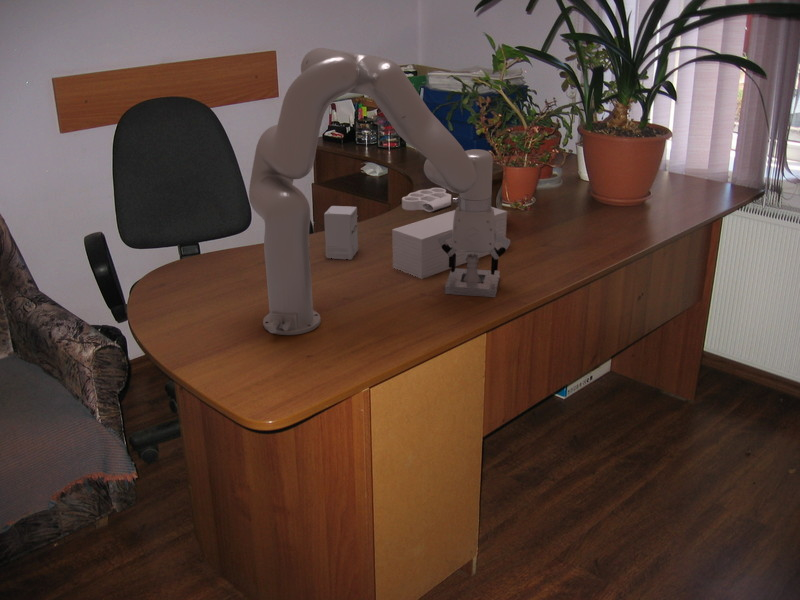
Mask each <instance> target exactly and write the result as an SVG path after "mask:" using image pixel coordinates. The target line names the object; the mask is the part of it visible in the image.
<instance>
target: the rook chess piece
mask: <svg viewBox="0 0 800 600" xmlns="http://www.w3.org/2000/svg"><path fill="white" fill-rule="evenodd" d="M466 261H467V264H466V266H467V267H466V269H467V274H466V276H465V278H464V279H463V282H467V283H482V282H481V280H480V278H479V276H478V271H477V270H478V266H479V264H478V262H479V261H480V258H478V255H476V254H473V255H472V254H470V256H469V254H468V255H467V258H466Z"/></svg>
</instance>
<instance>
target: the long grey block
mask: <svg viewBox="0 0 800 600" xmlns="http://www.w3.org/2000/svg"><path fill="white" fill-rule="evenodd" d="M491 208H493V207H491ZM493 209H494V215H495V226H496V232H497V233H498V234H500V235H502V236H504V237H506V238H507V218H508V211H507V210H505V209H502V210H501V209H497V208H493ZM454 214H455V210H453V211H451V210H450V211H447V212H444V213H441V214H438V215H435V216H431V217H429V218H425V219H422V220H417V221H415V222H412V223H408V224H406V225H405V224H404V225H401V226H399V227H396V228H392V229H391V230H392V231H391V234H392V235H391V236H392V239H391V240H392V242H391V243H392V247H391V248H392V269H394V268H395V269H394V270H397V269H398V270H397V271H399V270H401V271H400V272H402V271H403V272H402V273H404V274H407V273H409V274H408V275H410V274H411V275H410V276H412V275H413V276H412V277H415V276H416V277H415V278H417V277H418V279H420V278H421V279H420V280H423V279H427V278H428V277H432V276H434V275H436V274H440V273H442V272H444V271H448V270H451V268H449V256H448V255H447V253H446V252H445V251H444V250H443V249H442V247H441V245H440V243H439V241H438V237H439V236H440V235H443V234H445V233H447V232H450V231H452V230H453V220H454ZM445 241H446V243H447V244H448V245H449V246H450V247H452V237H451V238H449V239H446V240H445ZM502 246H503V243H501V242H500V241H498V240H496V241H495V247H496V248H497V250H499V249H500V248H501V247H502ZM455 254H456V267H457V266H461V265H464V264H466V263H467V264H468V262H467V261H466V258H467V255H468V254H469V256H470V254H472V255H473V254H476V255H478V258H479V259H481V258H482V257H485V256H488V255H491V254H490V253H479V252H462V251H456V252H455Z"/></svg>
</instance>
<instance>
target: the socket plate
mask: <svg viewBox="0 0 800 600" xmlns="http://www.w3.org/2000/svg"><path fill="white" fill-rule="evenodd" d="M477 271H478V276H479V278H480V280H481V282H480V283H467V282H463V279H464V278H465V276H466V274H467V268H458V267H456V268H455V271H454V272H451V270H450V271H449V275H448V276H447V280H446V282H445V285H444V294H445V295H456V296H468V297H469V296H471V297H484V298H485V297H486V298H496V295H497V291H498V288H499V287H498V286H499V282H500V275H501V273H500V270H495V273H494V275H492V274H491V269H489V270H488V269H477Z"/></svg>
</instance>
